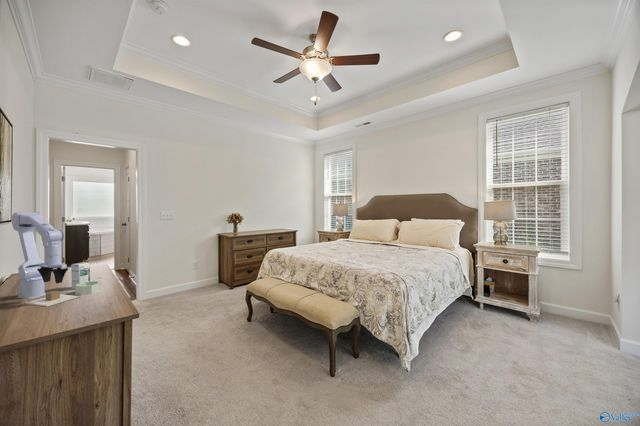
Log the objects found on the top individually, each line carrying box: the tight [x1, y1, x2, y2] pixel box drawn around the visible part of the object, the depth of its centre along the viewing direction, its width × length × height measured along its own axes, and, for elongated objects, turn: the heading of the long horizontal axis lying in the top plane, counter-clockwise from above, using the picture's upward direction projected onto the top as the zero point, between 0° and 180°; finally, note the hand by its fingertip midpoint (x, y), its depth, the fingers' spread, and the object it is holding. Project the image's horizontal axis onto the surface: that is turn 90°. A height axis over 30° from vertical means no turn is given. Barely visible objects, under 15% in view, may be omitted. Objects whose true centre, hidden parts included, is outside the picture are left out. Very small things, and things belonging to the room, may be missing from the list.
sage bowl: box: [74, 280, 102, 296], centre depth 141 cm, size 10×10×5 cm
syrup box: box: [70, 261, 91, 290], centre depth 148 cm, size 6×6×14 cm
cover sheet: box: [25, 290, 79, 307], centre depth 128 cm, size 13×13×4 cm
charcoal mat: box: [23, 296, 81, 308], centre depth 128 cm, size 16×14×1 cm
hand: (52, 282), depth 128 cm, fingers open, 7 cm apart
